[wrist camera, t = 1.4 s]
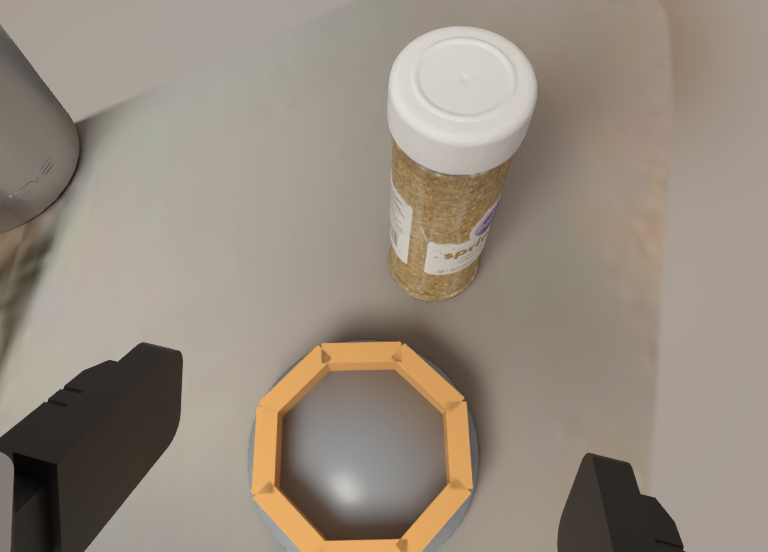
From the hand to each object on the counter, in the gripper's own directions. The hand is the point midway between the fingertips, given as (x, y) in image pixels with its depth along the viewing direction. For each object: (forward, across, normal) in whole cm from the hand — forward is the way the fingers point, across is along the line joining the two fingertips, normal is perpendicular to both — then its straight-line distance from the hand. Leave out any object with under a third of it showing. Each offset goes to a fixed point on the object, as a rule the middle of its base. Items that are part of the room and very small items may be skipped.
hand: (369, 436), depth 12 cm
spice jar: (+19, 0, +3) cm, 19 cm away
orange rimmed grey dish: (+12, +1, +10) cm, 16 cm away
